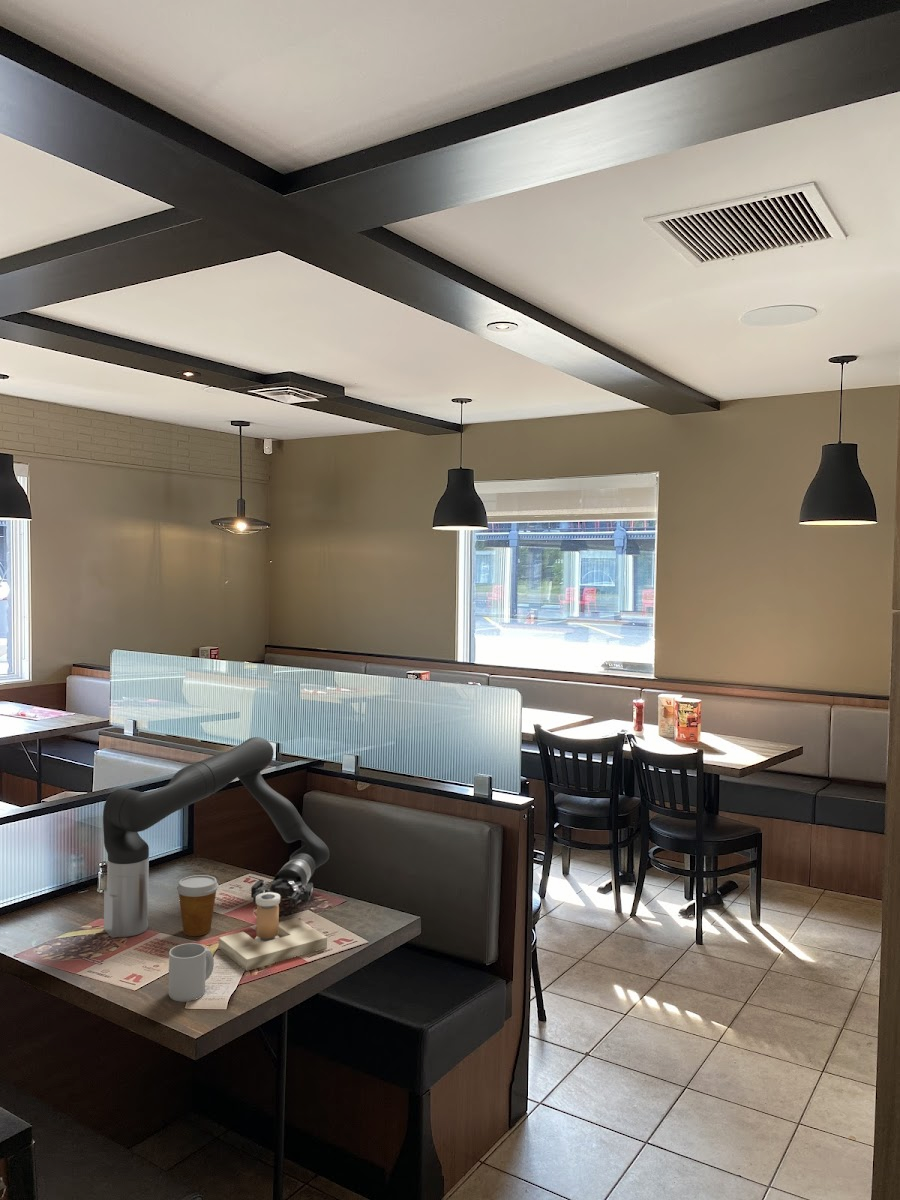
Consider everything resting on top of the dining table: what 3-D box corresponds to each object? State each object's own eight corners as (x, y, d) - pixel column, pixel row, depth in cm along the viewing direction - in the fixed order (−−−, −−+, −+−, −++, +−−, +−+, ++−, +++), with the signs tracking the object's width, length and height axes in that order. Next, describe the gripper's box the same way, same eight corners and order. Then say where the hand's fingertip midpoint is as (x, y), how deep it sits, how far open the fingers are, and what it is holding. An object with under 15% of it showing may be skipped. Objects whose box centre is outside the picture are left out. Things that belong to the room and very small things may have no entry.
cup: (161, 994, 183) (161, 951, 183) (201, 977, 191) (202, 936, 191) (183, 1006, 179) (183, 961, 178) (223, 988, 187) (224, 945, 186)
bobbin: (261, 950, 205) (262, 903, 204) (250, 942, 209) (251, 895, 209) (283, 944, 208) (284, 897, 208) (272, 936, 213) (273, 890, 212)
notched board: (246, 970, 195) (246, 959, 195) (218, 948, 206) (218, 937, 205) (326, 948, 207) (327, 937, 207) (296, 927, 218) (296, 917, 218)
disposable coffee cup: (226, 927, 217) (226, 878, 217) (199, 942, 209) (200, 891, 208) (194, 920, 221) (195, 871, 221) (167, 934, 213) (168, 883, 212)
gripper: (265, 861, 230) (244, 883, 214) (320, 865, 228) (303, 887, 212) (265, 890, 230) (244, 915, 214) (320, 894, 228) (302, 919, 212)
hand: (273, 901), depth 213 cm, fingers open, 8 cm apart
